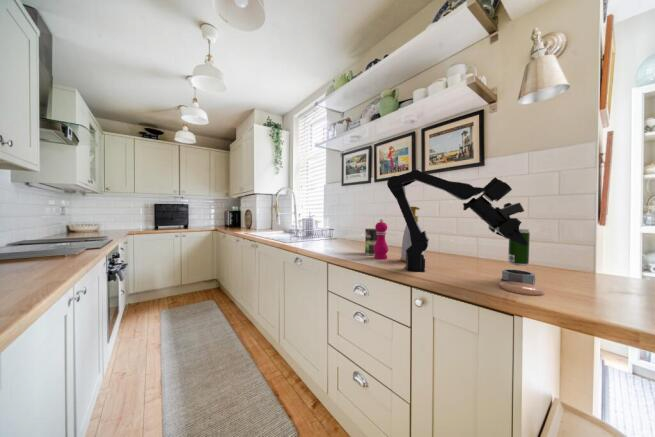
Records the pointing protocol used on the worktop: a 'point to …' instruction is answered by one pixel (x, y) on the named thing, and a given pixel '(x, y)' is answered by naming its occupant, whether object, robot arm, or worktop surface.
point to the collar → (518, 276)
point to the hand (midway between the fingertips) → (523, 243)
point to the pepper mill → (381, 241)
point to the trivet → (522, 288)
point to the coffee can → (370, 241)
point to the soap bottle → (408, 237)
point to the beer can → (519, 250)
